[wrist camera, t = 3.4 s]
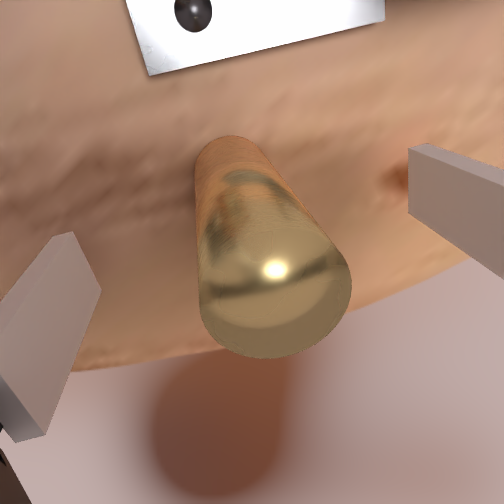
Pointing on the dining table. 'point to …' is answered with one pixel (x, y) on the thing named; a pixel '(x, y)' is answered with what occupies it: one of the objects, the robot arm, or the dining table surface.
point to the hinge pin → (262, 257)
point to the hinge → (236, 26)
